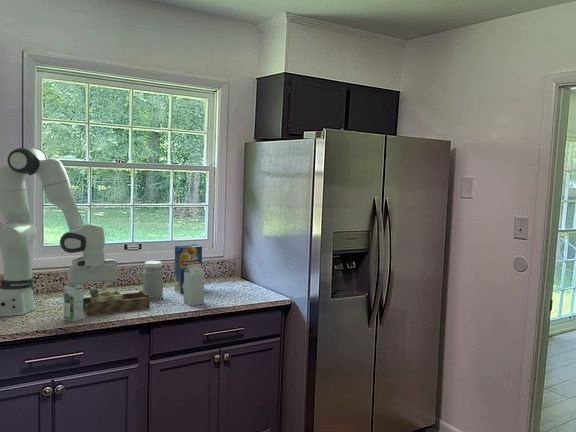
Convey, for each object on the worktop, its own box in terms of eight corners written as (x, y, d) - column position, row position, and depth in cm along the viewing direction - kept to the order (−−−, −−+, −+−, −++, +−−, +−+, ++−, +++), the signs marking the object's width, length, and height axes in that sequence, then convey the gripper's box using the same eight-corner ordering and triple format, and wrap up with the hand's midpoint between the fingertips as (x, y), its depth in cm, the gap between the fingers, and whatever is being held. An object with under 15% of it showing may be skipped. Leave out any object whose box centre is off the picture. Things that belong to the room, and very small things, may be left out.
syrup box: (63, 319, 219) (63, 285, 217) (75, 316, 224) (75, 283, 222) (71, 322, 216) (71, 287, 214) (84, 319, 221) (83, 285, 219)
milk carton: (183, 302, 252) (184, 263, 250) (196, 300, 257) (197, 262, 255) (190, 306, 247) (191, 266, 245) (203, 303, 251) (204, 264, 250)
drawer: (94, 311, 229) (94, 291, 228) (89, 306, 236) (89, 286, 235) (123, 307, 236) (123, 288, 235) (117, 303, 243) (117, 284, 242)
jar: (160, 300, 254) (160, 264, 252) (140, 300, 254) (140, 263, 252) (164, 295, 264) (165, 260, 262) (145, 295, 264) (145, 260, 262)
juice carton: (180, 294, 269) (181, 247, 267) (174, 291, 275) (174, 245, 272) (201, 291, 276) (202, 246, 274) (194, 288, 282) (195, 244, 280)
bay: (88, 315, 226) (88, 301, 225) (81, 308, 236) (81, 295, 235) (149, 308, 241) (149, 295, 240) (141, 302, 251) (141, 289, 250)
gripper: (115, 258, 239) (114, 287, 240) (68, 260, 228) (67, 291, 229) (119, 260, 234) (118, 290, 235) (71, 263, 223) (70, 294, 224)
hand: (93, 291), depth 232 cm, fingers open, 8 cm apart
